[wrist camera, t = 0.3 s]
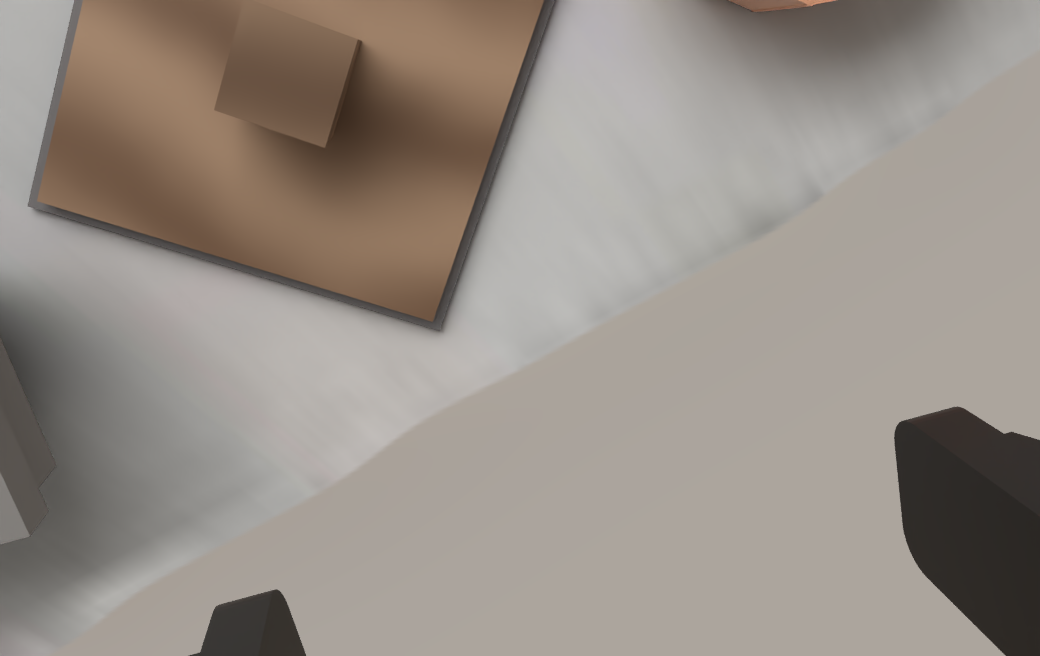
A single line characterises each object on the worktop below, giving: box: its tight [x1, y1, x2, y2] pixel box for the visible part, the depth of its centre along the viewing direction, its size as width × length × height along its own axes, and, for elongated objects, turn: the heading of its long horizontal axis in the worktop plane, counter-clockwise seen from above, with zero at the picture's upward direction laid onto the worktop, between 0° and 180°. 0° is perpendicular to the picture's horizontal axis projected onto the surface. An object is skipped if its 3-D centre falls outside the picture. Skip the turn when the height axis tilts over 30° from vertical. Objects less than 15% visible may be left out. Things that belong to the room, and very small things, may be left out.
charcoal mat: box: [28, 0, 555, 331], centre depth 34 cm, size 16×16×1 cm
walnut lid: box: [37, 0, 544, 322], centre depth 31 cm, size 15×15×6 cm
